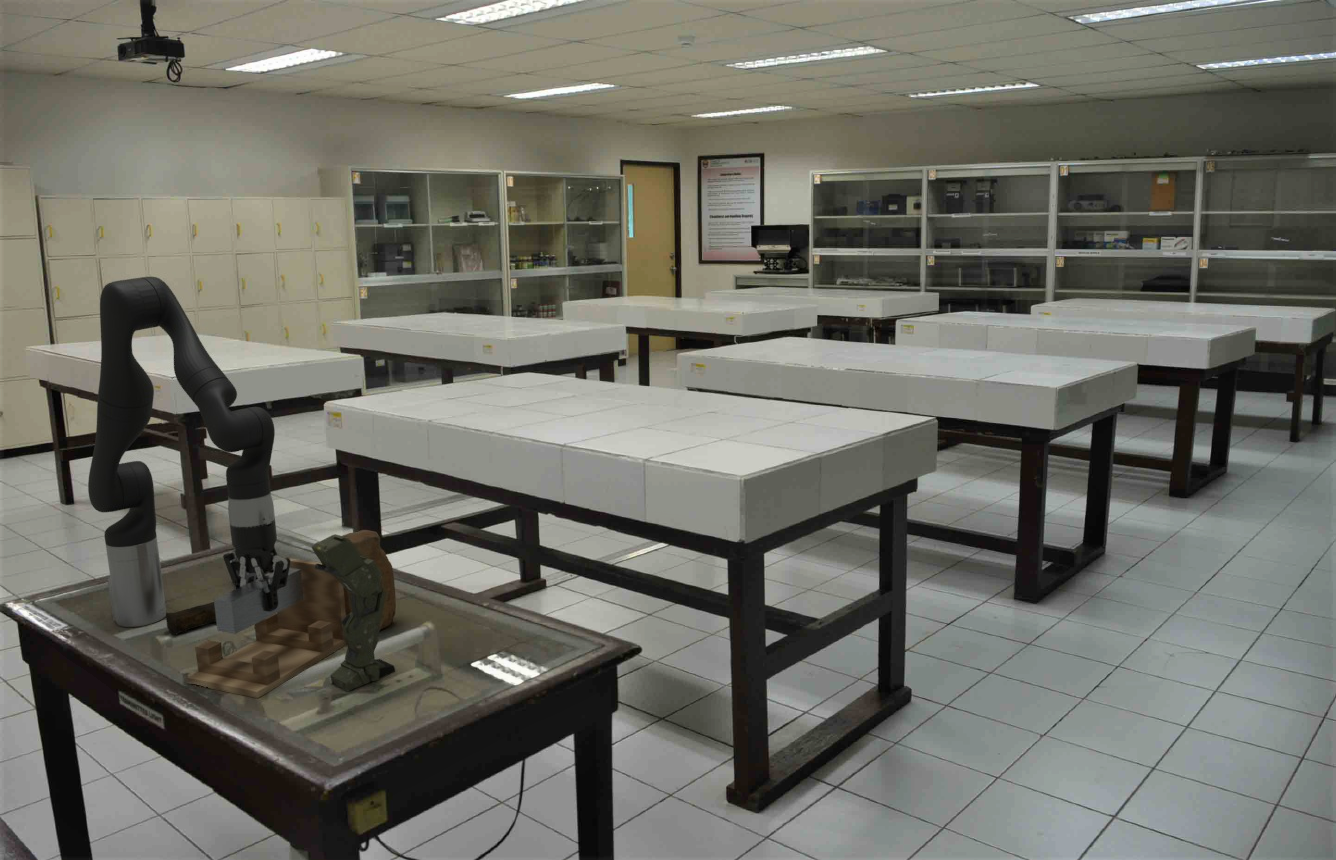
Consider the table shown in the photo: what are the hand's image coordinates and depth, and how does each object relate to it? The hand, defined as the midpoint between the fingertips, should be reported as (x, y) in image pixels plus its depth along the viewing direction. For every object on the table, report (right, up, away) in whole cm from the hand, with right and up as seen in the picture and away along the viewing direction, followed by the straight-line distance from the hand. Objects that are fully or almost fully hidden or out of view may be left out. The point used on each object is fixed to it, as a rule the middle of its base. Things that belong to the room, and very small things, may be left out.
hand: (261, 608), depth 177 cm
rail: (0, -1, 0) cm, 1 cm away
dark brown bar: (-18, -7, +25) cm, 31 cm away
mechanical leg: (+19, -12, -4) cm, 23 cm away
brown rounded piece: (+14, -8, +18) cm, 24 cm away
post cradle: (0, -11, +2) cm, 11 cm away
